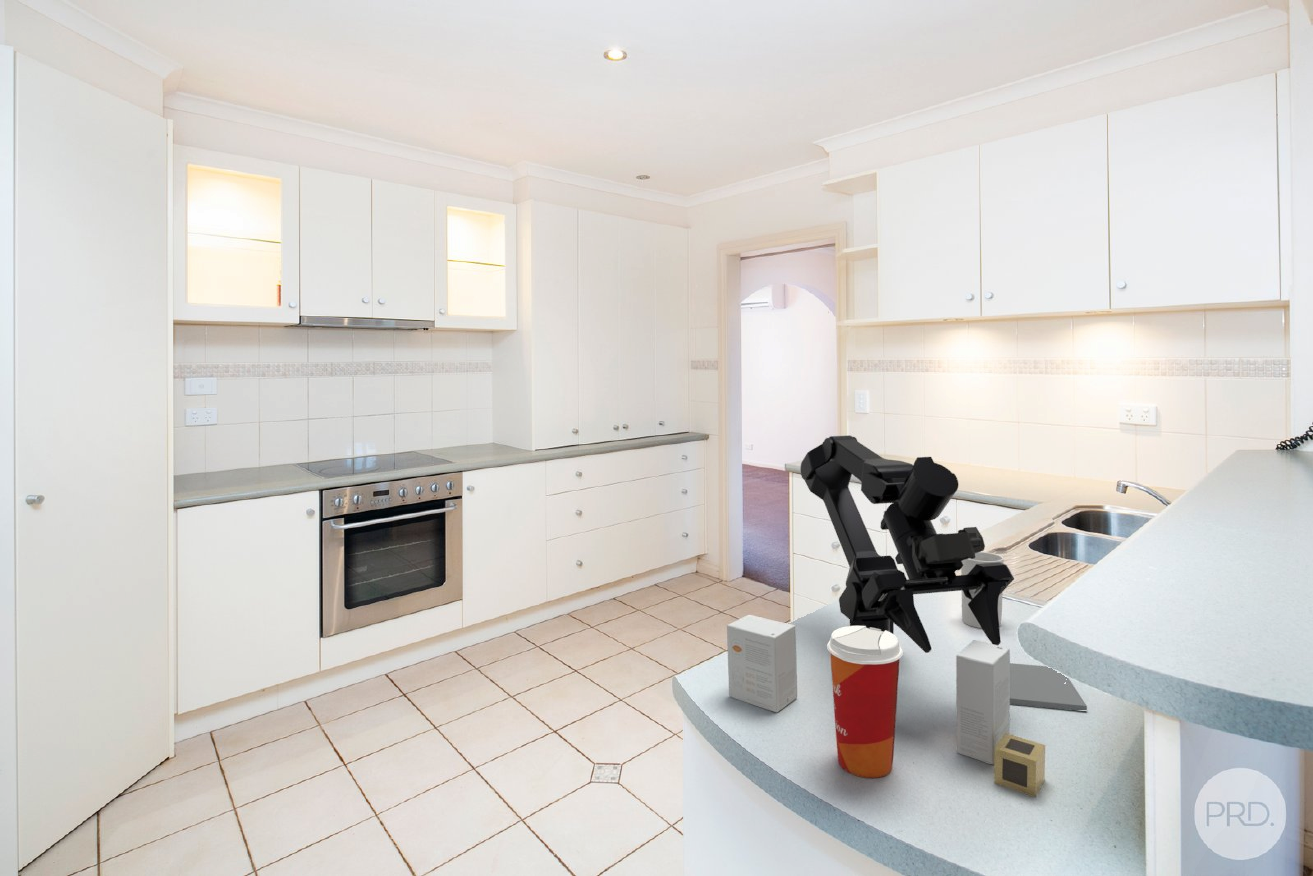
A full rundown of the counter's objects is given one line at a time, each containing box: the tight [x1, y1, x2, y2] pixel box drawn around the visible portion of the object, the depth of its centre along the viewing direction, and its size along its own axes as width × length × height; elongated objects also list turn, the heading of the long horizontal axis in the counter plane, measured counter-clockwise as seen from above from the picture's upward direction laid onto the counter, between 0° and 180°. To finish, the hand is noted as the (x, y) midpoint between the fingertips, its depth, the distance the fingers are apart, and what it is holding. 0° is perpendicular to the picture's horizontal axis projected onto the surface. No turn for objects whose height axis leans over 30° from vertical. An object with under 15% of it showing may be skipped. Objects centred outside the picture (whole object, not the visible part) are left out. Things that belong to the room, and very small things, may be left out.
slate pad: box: [1010, 662, 1088, 711], centre depth 95 cm, size 12×12×1 cm
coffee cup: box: [826, 625, 904, 779], centre depth 77 cm, size 8×8×15 cm
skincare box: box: [955, 639, 1011, 765], centre depth 79 cm, size 6×4×12 cm
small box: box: [726, 614, 798, 713], centre depth 94 cm, size 8×6×10 cm
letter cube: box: [993, 733, 1046, 798], centre depth 73 cm, size 4×4×4 cm
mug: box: [960, 551, 1005, 629], centre depth 120 cm, size 10×7×12 cm, turn 162°
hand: (963, 648), depth 83 cm, fingers open, 9 cm apart
